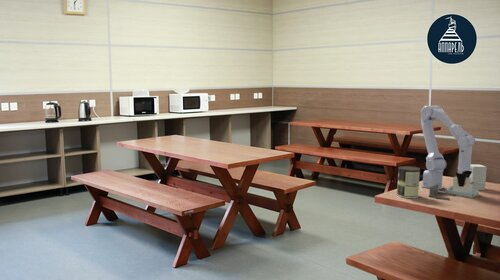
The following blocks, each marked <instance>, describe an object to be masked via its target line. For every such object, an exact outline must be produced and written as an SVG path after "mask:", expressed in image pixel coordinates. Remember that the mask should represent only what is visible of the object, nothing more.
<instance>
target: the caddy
mask: <svg viewBox="0 0 500 280" xmlns="http://www.w3.org/2000/svg"><path fill="white" fill-rule="evenodd" d="M452 180H453V181H452V186H453V191H460V192H466V193H471V192H472V184H474V183H475V182H473V178H467V177H466V179H465V183H464V186H463V187H461V186H459V184H458V179H457V176H456V175H455V176H454V177H453V179H452Z"/></svg>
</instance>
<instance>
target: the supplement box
mask: <svg viewBox="0 0 500 280" xmlns="http://www.w3.org/2000/svg"><path fill="white" fill-rule="evenodd" d="M470 168H473V170H469V171H472V173H471V175H470V177H469V178H473V182H475V183H474V184H472V189H473V190H479V191H485V190H486V184H487V183H486V182H487V181H486V180H487V170H488V169H487V168H488V167H487V166H485V165H482V164H472V163H471V167H470Z"/></svg>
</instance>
